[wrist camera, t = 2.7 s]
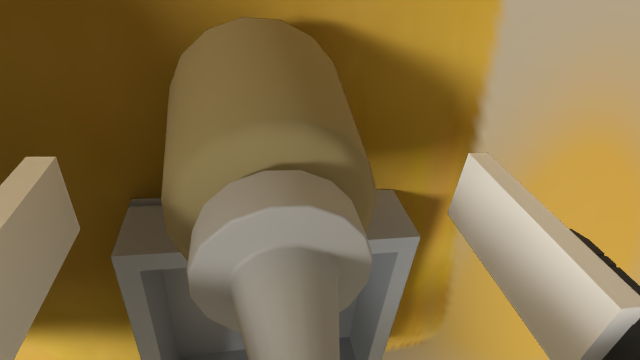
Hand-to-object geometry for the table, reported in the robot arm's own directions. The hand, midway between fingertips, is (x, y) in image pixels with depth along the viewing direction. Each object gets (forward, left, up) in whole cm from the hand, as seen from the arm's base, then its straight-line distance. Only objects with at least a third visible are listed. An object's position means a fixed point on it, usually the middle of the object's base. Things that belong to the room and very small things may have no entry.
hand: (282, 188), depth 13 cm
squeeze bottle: (0, 0, -11) cm, 11 cm away
